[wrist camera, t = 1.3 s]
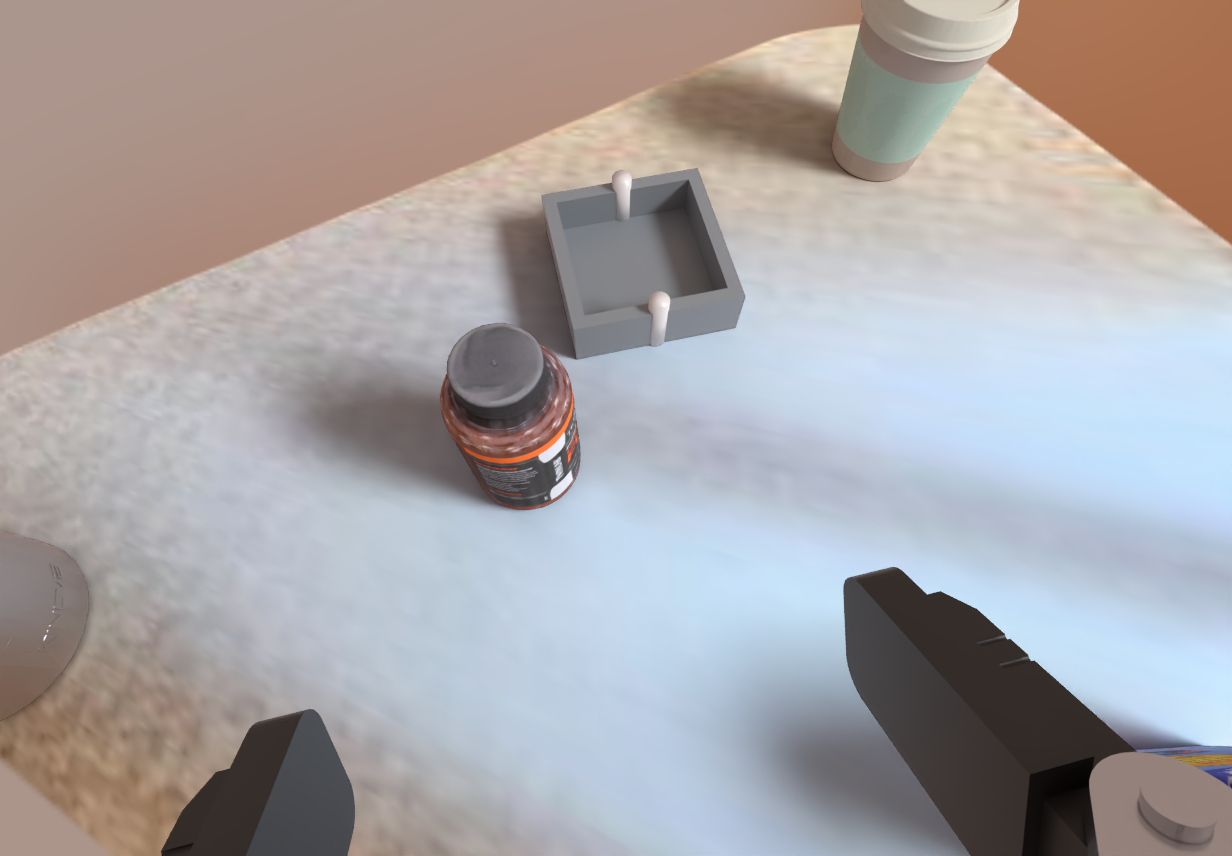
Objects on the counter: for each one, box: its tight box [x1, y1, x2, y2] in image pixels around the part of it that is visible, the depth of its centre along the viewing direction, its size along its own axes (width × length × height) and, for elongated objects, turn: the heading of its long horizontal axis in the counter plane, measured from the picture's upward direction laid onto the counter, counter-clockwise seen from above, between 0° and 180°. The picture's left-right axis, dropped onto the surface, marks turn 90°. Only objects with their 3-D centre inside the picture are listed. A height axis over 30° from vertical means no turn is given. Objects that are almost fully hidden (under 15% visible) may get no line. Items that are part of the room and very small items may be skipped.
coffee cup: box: [832, 0, 1020, 181], centre depth 40 cm, size 8×9×12 cm
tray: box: [542, 168, 745, 359], centre depth 39 cm, size 10×10×4 cm
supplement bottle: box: [440, 323, 580, 510], centre depth 31 cm, size 6×6×11 cm
